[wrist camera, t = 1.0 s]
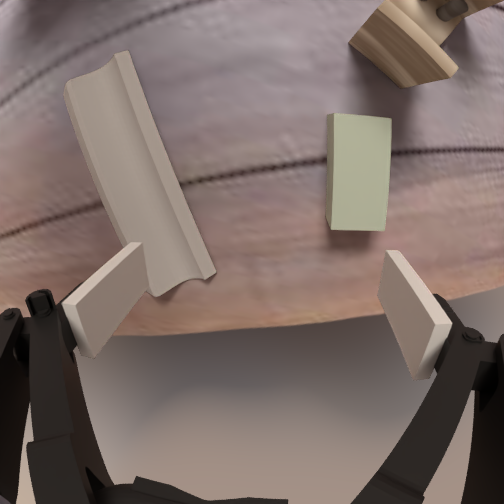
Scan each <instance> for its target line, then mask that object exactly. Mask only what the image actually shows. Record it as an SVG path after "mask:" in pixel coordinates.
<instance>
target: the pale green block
mask: <svg viewBox="0 0 504 504" xmlns="http://www.w3.org/2000/svg"><path fill="white" fill-rule="evenodd" d="M391 123H392V118H384V117H375V116H364V115H352V114H336V113H333V114H329V115H327V188H326V214H325V217H326V219H327V221H328V224H329V226H330V229H331V230H363V231H385V223H386V213H387V203H388V191H389V178H390V160H391Z"/></svg>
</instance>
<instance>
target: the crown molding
mask: <svg viewBox="0 0 504 504" xmlns="http://www.w3.org/2000/svg"><path fill="white" fill-rule="evenodd" d="M63 96H64V100H65V103H66V106H67V109H68V112H69V116H70V119H71V122H72V125H73V128H74V131H75V133H76V136H77V139H78V142H79V145H80V148H81V150H82V153H83V156H84V158H85V161H86V164H87V166H88V169H89V171H90V174H91V176H92V179H93V181H94V184H95V186H96V189H97V191H98V193H99V196H100V198H101V200H102V203H103V205H104V207H105V210H106V212H107V214H108V216H109V219H110V221H111V223H112V225H113V227H114V230H115V232H116V234H117V236H118V238H119V240H120V242H121V244H122V246H123V248H124V247H126V246H127V245H128V244H129V243H130V242H142V243H143V249H144V256H145V262H146V268H147V274H148V280H149V287H148V289H147V290H146V292H148V293H149V294H151V295H153V296H154V297H157V296H160V295H162V294H164V293H165V292H167V291H168V290H170V289H171V288H173V287H174V286H176V285H178V284H179V283H181V282H183V281H186V280H188V279H193V278H201V279H204V280H205V279H207V278H208V277H210V276H212V275H213V274H215V273H216V269H215V267H214V265H213V263H212V260H211V258H210V256H209V254H208V251H207V249H206V247H205V244H204V242H203V240H202V237H201V235H200V233H199V230H198V228H197V226H196V223H195V221H194V219H193V216H192V214H191V212H190V209H189V207H188V204H187V202H186V200H185V197H184V195H183V192H182V190H181V188H180V185H179V183H178V180H177V178H176V175H175V173H174V170H173V168H172V165H171V163H170V160H169V158H168V155H167V153H166V150H165V148H164V145H163V143H162V140H161V137H160V135H159V132H158V130H157V127H156V125H155V122H154V119H153V117H152V114H151V111H150V109H149V106H148V103H147V101H146V98H145V95H144V93H143V90H142V87H141V84H140V82H139V79H138V76H137V73H136V70H135V68H134V65H133V62H132V59H131V56H130V53H129V50H127V51H123V52H119V53H115V54H114V55H113V57H112V59H111V60H110V61H109V62H108V63H107V64H106V65H105V66H103V67H102V68H100V69H98V70H96V71H93V72H91V73H88V74H85V75H82V76H79V77H76V78H73V79H71V80H69V81H68V82H66V84H65V89H64V95H63Z"/></svg>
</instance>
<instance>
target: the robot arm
mask: <svg viewBox="0 0 504 504" xmlns="http://www.w3.org/2000/svg"><path fill="white" fill-rule="evenodd" d="M148 287H149V280H148V274H147V268H146V262H145V256H144V249H143V243H142V242H130V243H129V244H128V245H127V246H126V247H124V248H123V249H122V250H121V251H120V252H118V253H117V254H116V255H115V256H114V257H113V258H111V259H110V260H109V261H108V262H107V263H106V264H104V265H103V266H102V267H101V268H100V269H99V270H97V271H96V272H95V273H94V274H93V275H92V276H91V277H90V278H88V279H87V280H86V281H84V282H82V283H81V284H79V285H78V286H77V287H75V288H74V289H73V291H71V292H70V293H69V295H67V296H66V297H65V298H63V299H62V300H61V301H60V302H59V303H58V304H57V305H55V302H54V299H53V296H52V293H51V291H50V290H48V289H41V290H37V291H35V292H33V293H31V294H29V295H28V296H27V297H26V300H25V301H26V304H27V307H28V309H29V312H30V315H31V317H24V318H23V316H22V314H21V311H20V309H18V308H11V309H10V308H9V309H7V310H5V311H4V312H3V313H1V314H0V504H16V499H17V495H18V486H19V473H20V461H21V453H22V445H23V438H24V431H25V425H26V419H27V414H28V408H29V403H30V405H31V418H32V427H33V437H34V441H33V442H28V443H27V447H26V449H27V450H26V451H27V458H28V465H29V471H30V477H31V482H32V487H33V492H34V496H35V501H36V504H288V499H263V498H250V497H247V498H238V499H228V500H213V501H207V500H203V499H201V498H198V497H195V496H193V495H191V494H189V493H187V492H184V491H182V490H180V489H178V488H176V487H173V486H171V485H169V484H164V483H160V482H156V481H152V480H149V479H145V478H141V477H138V476H136V478H135V480H134V483H133V484H118V485H114V483H113V482H112V480H111V478H110V476H109V474H108V472H107V469H106V466H105V464H104V461H103V458H102V456H101V452H100V450H99V447H98V444H97V440H96V437H95V434H94V431H93V428H92V424H91V421H90V418H89V414H88V410H87V406H86V402H85V398H84V394H83V391H82V386H81V382H80V377H79V372H78V367H77V362H76V358H75V354H74V352H73V350H74V348H75V347H76V346H78V349H79V351H80V354H81V355H82V356H86V357H89V358H93V359H95V357H96V356H97V355H98V353H99V352H100V351H101V349H102V348H103V346H104V345H105V344H106V342H107V341H108V340H109V338H110V337H111V336H112V334H113V333H114V332H115V330H116V329H117V328H118V326H119V325H120V324H121V322H122V321H123V320H124V318H125V317H126V316H127V314H128V313H129V312H130V311H131V309H132V308H133V307H134V305H135V304H136V303H137V301H138V300H139V299H140V298H141V296H142V295H143V294H144V293H145V291H146V290H147V289H148ZM377 296H378V298H379V300H380V302H381V305H382V307H383V309H384V311H385V313H386V316H387V318H388V320H389V322H390V325H391V327H392V329H393V332H394V334H395V336H396V339H397V341H398V344H399V346H400V348H401V351H402V353H403V356H404V358H405V361H406V363H407V366H408V369H409V371H410V374H411V376H412V379H413V380H422V379H429V378H430V376H431V374H432V372H433V369H434V368H435V370H436V372H437V376H436V378H435V380H434V382H433V384H432V386H431V387H430V389H429V391H428V393H427V395H426V397H425V399H424V401H423V402H422V404H421V406H420V407H419V409H418V411H417V413H416V414H415V416H414V418H413V419H412V421H411V423H410V425H409V426H408V428H407V429H406V431H405V432H404V434H403V435H402V437H401V439H400V440H399V442H398V443H397V444H396V446H395V448H394V449H393V450H392V452H391V453H390V455H389V456H388V457H387V459H386V460H385V462H384V463H383V465H382V466H381V467H380V468H379V470H378V471H377V472H376V473H375V475H374V476H373V477H372V479H371V480H370V481H369V482H368V483H367V485H366V486H365V487H364V489H363V490H362V491H361V492H360V493H359V495H358V496H357V497H356V498H355V499H354V500H353V502H352V503H351V504H422V503H423V500H424V496H423V494H424V492H425V490H426V488H427V486H428V485H429V483H430V481H431V479H432V478H433V476H434V474H435V472H436V470H437V468H438V466H439V464H440V462H441V461H442V458H443V457H444V455H445V452H446V450H447V448H448V446H449V444H450V442H451V440H452V437H453V435H454V433H455V431H456V428H457V426H458V423H459V421H460V419H461V416H462V413H463V411H464V408H465V406H466V403H467V400H468V397H469V394H470V392H471V390H475V399H474V419H473V432H472V442H471V451H470V458H469V464H468V471H467V476H466V482H465V487H464V492H463V496H462V501H461V504H504V334H502V335H501V337H500V338H499V341H498V343H493V342H486V341H485V339H484V337H483V335H482V334H481V333H479V331H477V330H475V329H473V328H469V327H465V326H464V325H463V324H462V322H461V321H460V319H459V318H458V317H457V315H456V314H455V312H453V310H452V308H451V307H450V306H449V304H448V303H447V302H446V300H445V299H444V298H442V297H441V296H439V295H438V294H432V293H431V292H430V291H429V289H428V288H427V287H426V285H425V284H424V282H423V281H422V280H421V278H420V277H419V276H418V275H417V273H416V272H415V271H414V269H413V268H412V267H411V265H410V264H409V263H408V262H407V260H406V259H405V258H404V257H403V255H402V254H401V253H400V252H399V250H386V251H385V257H384V263H383V269H382V274H381V280H380V285H379V290H378V295H377Z"/></svg>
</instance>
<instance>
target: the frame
mask: <svg viewBox="0 0 504 504" xmlns="http://www.w3.org/2000/svg"><path fill="white" fill-rule="evenodd" d="M502 1H504V0H385V1H384V2H383V3H382V4H381V5H380V6H379V7H378V8H377V9H376V10H375V11H374V13H373V14H372V15H371V16H370V17H369V18H368V20H367V21H366V22H365V23H364V24H363V26H362V27H361V28H360V29H359V30H358V31H357V33H356V34H355V35H354V36H353V38H352V39H351V40H350V41H349V42H348V43H349V44H350V45H352V46H353V47H354V48H355V49H357V50H358V51H359V52H360V53H362V54H363V55H364V56H365V57H366V58H368V59H369V60H370V61H371V62H372V63H373V64H374V65H376V66H377V67H378V68H379V69H380V70H381V71H382V72H383V73H385V74H386V75H387V76H388V77H389V78H390V79H391V80H392V81H393V82H394V83H395V84H396V85H397V86H398V87H399V88H400V89H403V88H407V87H411V86H415V85H420V84H424V83H429V82H433V81H438V80H443V79H448V78H451V77H452V76H453V74H454V73H455V72H456V71H457V69H458V68H459V67H458V66H457V65H456V64H455V63H454V62H453V61H452V60H451V58H450V57H449V56H448V55H447V54H446V53H445V52H444V51H443V50H442V49H441V48H440V47H439V46H440V45H441V44H442V43H443V41H444V40H445V39H446V38H447V37H448V35H449V34H450V33H451V32H452V31H453V29H454V28H455V27H456V26H457V25H458V24H459V22H460V21H461V20H462V19H463V18H465V17H467V16H469V15H471V14H473V13H476V12H478V11H480V10H482V9H485V8H487V7H489V6H492V5H494V4H497V3H499V2H502Z"/></svg>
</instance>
